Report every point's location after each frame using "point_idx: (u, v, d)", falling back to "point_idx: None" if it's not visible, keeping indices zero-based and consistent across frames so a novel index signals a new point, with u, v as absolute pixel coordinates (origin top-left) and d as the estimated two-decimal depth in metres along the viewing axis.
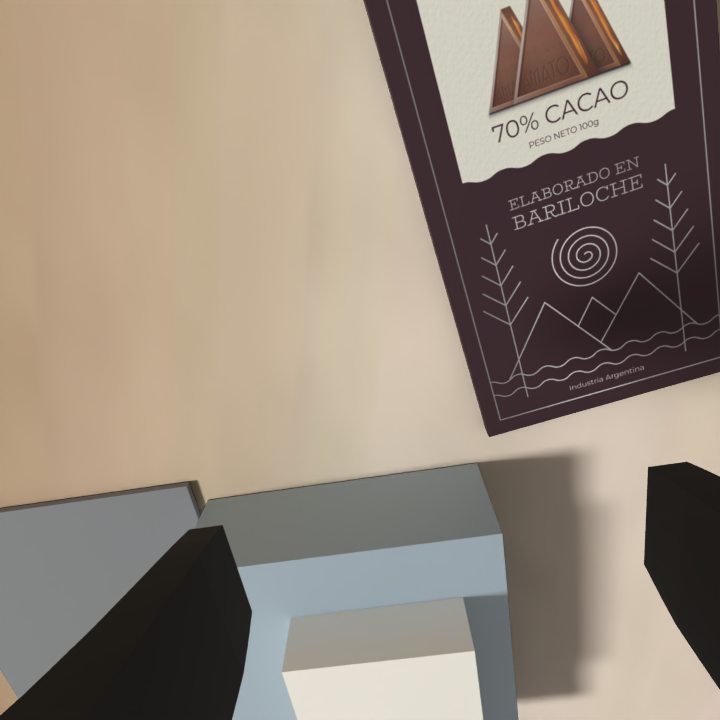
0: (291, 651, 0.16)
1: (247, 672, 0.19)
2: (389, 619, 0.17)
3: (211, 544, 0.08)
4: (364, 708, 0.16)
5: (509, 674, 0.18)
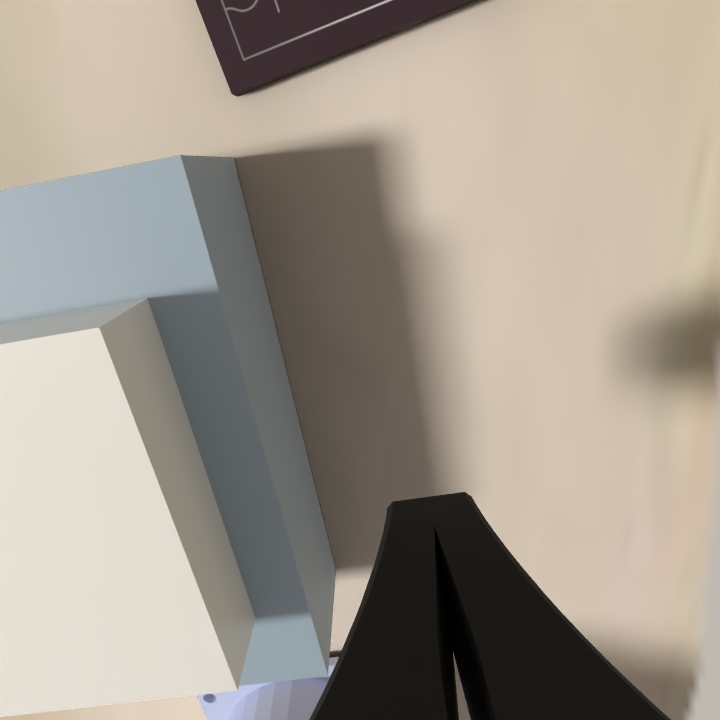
0: None
1: None
2: (15, 325, 0.10)
3: (431, 516, 0.08)
4: None
5: (258, 455, 0.12)
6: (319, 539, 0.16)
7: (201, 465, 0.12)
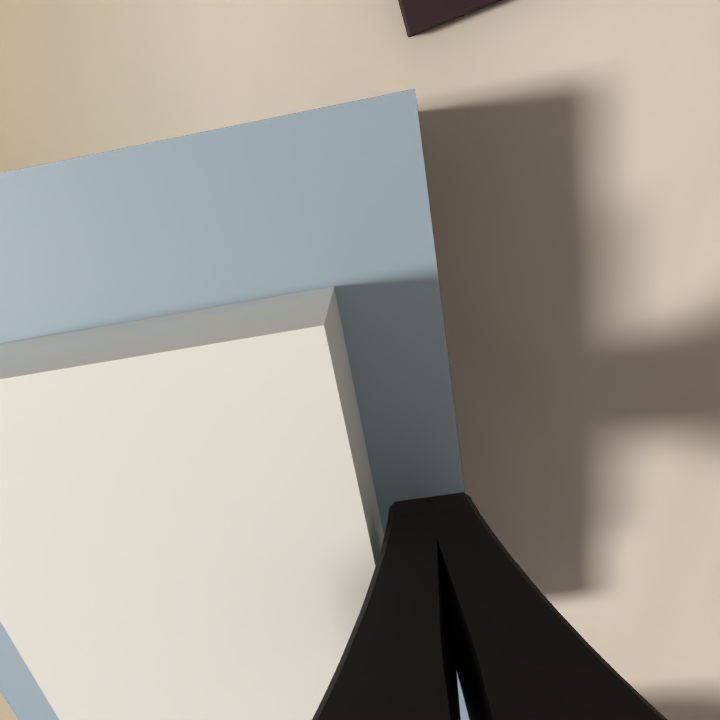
0: None
1: None
2: (166, 323, 0.08)
3: (433, 515, 0.08)
4: (91, 505, 0.07)
5: (454, 485, 0.09)
6: None
7: (376, 500, 0.09)
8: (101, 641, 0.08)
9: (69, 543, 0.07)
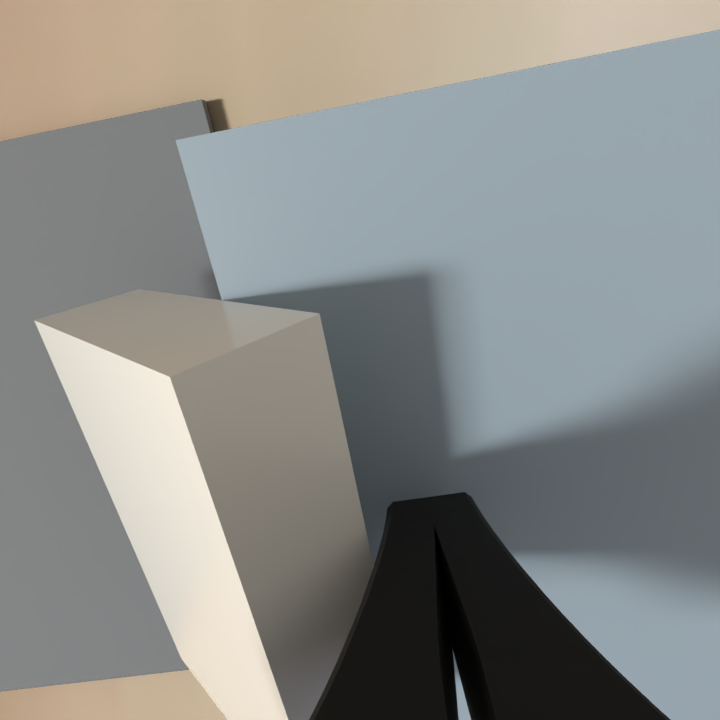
0: (76, 309, 0.10)
1: None
2: (188, 310, 0.08)
3: (431, 515, 0.08)
4: (114, 447, 0.08)
5: None
6: None
7: (367, 566, 0.08)
8: (145, 544, 0.10)
9: (114, 466, 0.09)
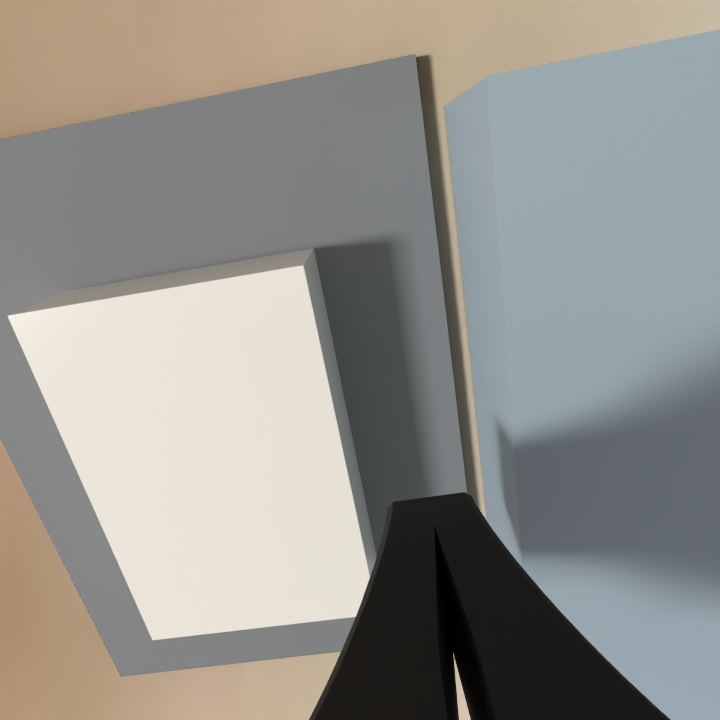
0: (300, 255, 0.11)
1: (589, 387, 0.08)
2: (141, 288, 0.10)
3: (431, 515, 0.08)
4: None
5: None
6: None
7: (85, 481, 0.11)
8: None
9: None
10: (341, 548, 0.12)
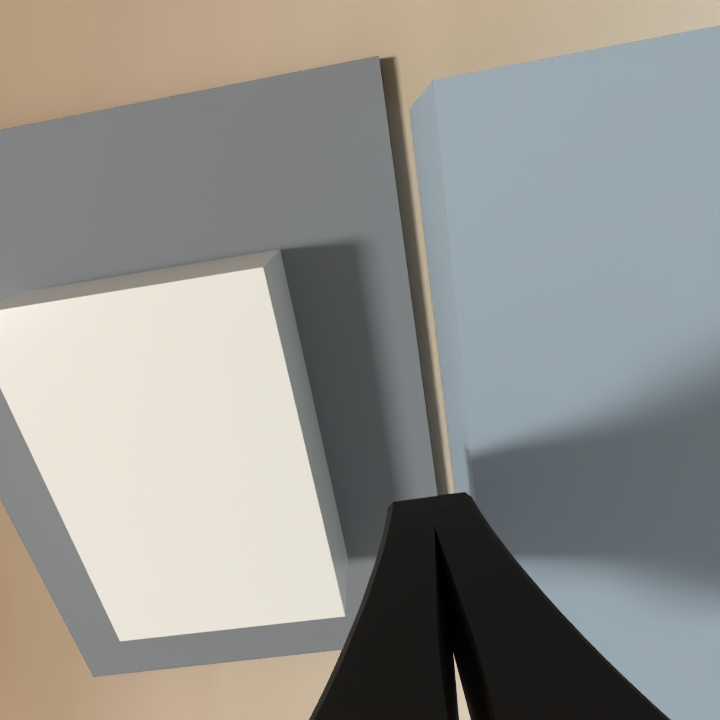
0: (265, 256, 0.11)
1: (543, 392, 0.08)
2: (102, 288, 0.10)
3: (431, 515, 0.08)
4: None
5: None
6: None
7: (49, 482, 0.11)
8: None
9: None
10: (307, 550, 0.12)
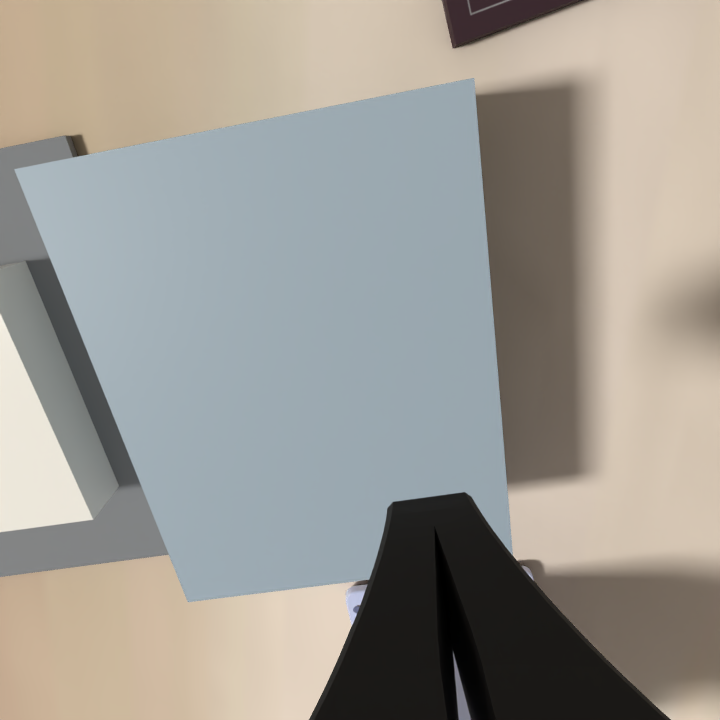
0: (5, 266, 0.16)
1: (135, 350, 0.14)
2: None
3: (431, 515, 0.08)
4: None
5: (489, 350, 0.14)
6: None
7: None
8: None
9: None
10: (55, 469, 0.17)
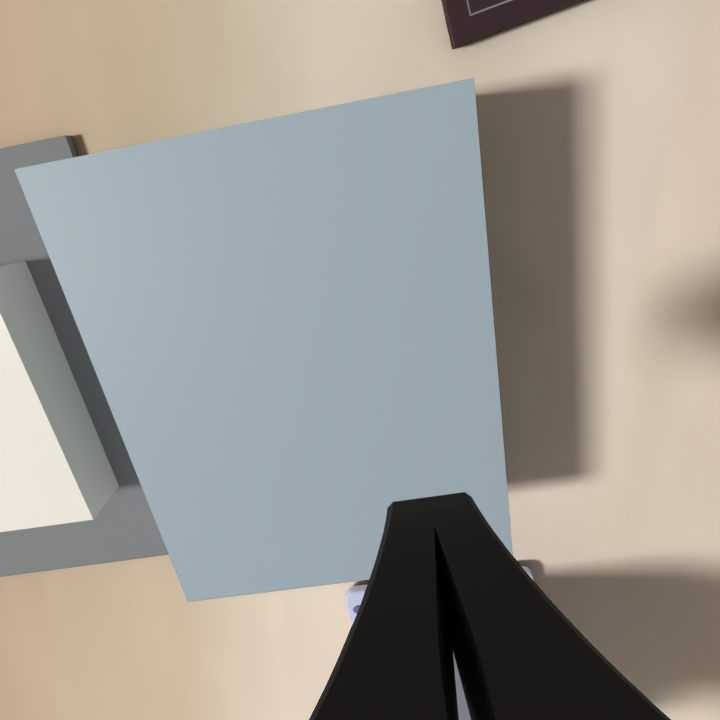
0: (5, 266, 0.16)
1: (135, 350, 0.14)
2: None
3: (431, 515, 0.08)
4: None
5: (489, 350, 0.14)
6: None
7: None
8: None
9: None
10: (55, 469, 0.17)
